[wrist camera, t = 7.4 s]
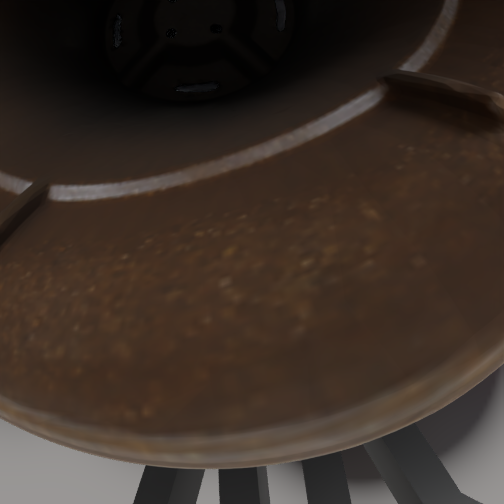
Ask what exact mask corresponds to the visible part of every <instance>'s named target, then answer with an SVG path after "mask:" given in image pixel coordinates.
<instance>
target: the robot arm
mask: <svg viewBox="0 0 504 504" xmlns="http://www.w3.org/2000/svg"><path fill="white" fill-rule="evenodd" d="M363 446H364V447H365V449H366V451H367V452H368V454H369V456H370V457H371V459H372V461H373V462H374V464H375V466H376V467H377V469H378V471H379V472H380V474H381V476H382V477H383V479H384V481H385V483H386V484H387V486H388V488H389V489H390V491H391V493H392V494H393V496H394V497H395V499H396V501H397V503H398V504H482V503H480V502H478V501H476V500H474V499H472V498H470V497H468V496H466V495H464V494H463V493H461V492H460V490H459V489H458V487H457V486H456V484H455V483H454V481H453V480H452V478H451V476H450V475H449V473H448V472H447V470H446V469H445V467H444V466H443V464H442V463H441V461H440V460H439V458H438V457H437V455H436V454H435V452H434V451H433V449H432V448H431V446H430V445H429V443H428V442H427V440H426V439H425V438H424V436H423V434H422V433H421V432H420V430H419V429H418V427H417V426H416V424H415V423H412V424H410V425H408V426H406V427H404V428H401V429H399V430H397V431H395V432H392V433H390V434H387V435H385V436H382V437H380V438H377V439H375V440H372V441H369V442H367V443H364V444H363ZM302 466H303V473H304V480H305V486H306V493H307V500H308V504H351V499H350V494H349V489H348V484H347V479H346V474H345V470H344V465H343V461H342V457H341V451H338V452H334V453H330V454H326V455H322V456H318V457H313V458H309V459H304V460H302ZM204 471H205V469H184V468H169V467H158V466H149V465H146V466H145V469H144V472H143V475H142V478H141V481H140V484H139V487H138V491H137V493H136V496H135V500H134V503H133V504H196V501H197V497H198V494H199V490H200V486H201V482H202V478H203V475H204ZM219 495H220V504H270V497H269V489H268V479H267V470H266V466H259V467H248V468H233V469H219Z"/></svg>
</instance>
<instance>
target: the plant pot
mask: <svg viewBox="0 0 504 504" xmlns="http://www.w3.org/2000/svg"><path fill="white" fill-rule="evenodd" d="M284 1H285V6H286V22H285V28H284V30H283V31H281V32H279V31H278V30H277V27H276V19H277V9H276V5H275V0H177V1H176V2H169V1H168V0H0V418H1V419H3V420H4V421H6V422H9V423H10V424H12V425H14V426H16V427H18V428H20V429H22V430H25V431H27V432H29V433H31V434H34V435H36V436H38V437H41V438H43V439H46V440H48V441H51V442H53V443H56V444H59V445H62V446H65V447H68V448H71V449H74V450H77V451H81V452H84V453H88V454H91V455H95V456H99V457H103V458H108V459H112V460H118V461H123V462H129V463H135V464H142V465H149V466H158V467H169V468H184V469H233V468H248V467H259V466H267V465H275V464H281V463H287V462H293V461H299V460H304V459H309V458H313V457H318V456H322V455H326V454H330V453H334V452H338V451H341V450H345V449H348V448H352V447H355V446H358V445H361V444H364V443H367V442H369V441H372V440H375V439H377V438H380V437H382V436H385V435H387V434H390V433H392V432H395V431H397V430H399V429H401V428H404V427H406V426H408V425H410V424H412V423H414V422H416V421H418V420H420V419H422V418H424V417H426V416H428V415H430V414H432V413H434V412H436V411H437V410H439V409H441V408H443V407H445V406H446V405H448V404H449V403H451V402H452V401H454V400H456V399H457V398H459V397H460V396H462V395H463V394H465V393H466V392H467V391H469V390H470V389H472V388H473V387H474V386H476V385H477V384H478V383H480V382H481V381H482V380H484V379H485V378H486V377H488V376H489V375H490V374H491V373H493V372H494V371H495V370H496V369H497V368H499V367H500V366H501V365H502V364H503V363H504V0H284ZM118 13H119V14H120V15H121V17H122V21H121V23H120V25H121V32H120V35H121V38H122V42H121V44H120V46H119V47H118V48H115V47H114V45H113V25H114V20H115V17H116V15H117V14H118ZM214 24H219V25H221V26H222V32H221V33H218V34H216V33H212V31H211V30H210V27H211V26H212V25H214ZM170 28H173V29H175V30H176V32H177V34H176V36H175V37H174V38H168V37H167V36H166V32H167V30H169V29H170ZM209 81H217V82H218V83H219V87H218V88H217V89H216V90H213V91H208V92H188V93H186V92H179V91H176V90H174V87H175V86H178V85H181V84H195V83H204V82H209Z"/></svg>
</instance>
